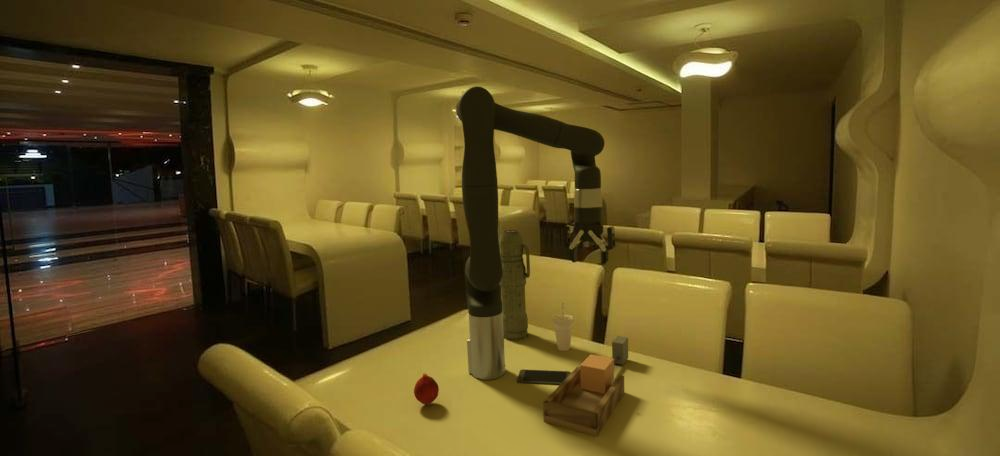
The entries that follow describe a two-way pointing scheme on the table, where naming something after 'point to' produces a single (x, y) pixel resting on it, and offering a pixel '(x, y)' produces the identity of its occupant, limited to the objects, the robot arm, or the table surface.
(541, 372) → the cell phone
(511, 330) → the thermos
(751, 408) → the table surface
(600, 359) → the block
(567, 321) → the smoothie
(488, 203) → the robot arm
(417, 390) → the onion
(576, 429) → the wooden crate
